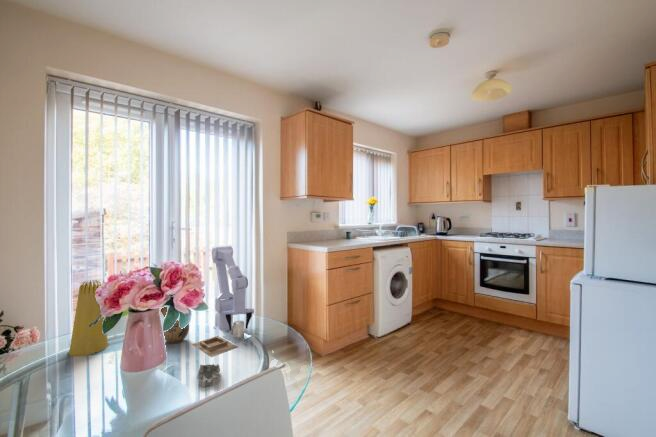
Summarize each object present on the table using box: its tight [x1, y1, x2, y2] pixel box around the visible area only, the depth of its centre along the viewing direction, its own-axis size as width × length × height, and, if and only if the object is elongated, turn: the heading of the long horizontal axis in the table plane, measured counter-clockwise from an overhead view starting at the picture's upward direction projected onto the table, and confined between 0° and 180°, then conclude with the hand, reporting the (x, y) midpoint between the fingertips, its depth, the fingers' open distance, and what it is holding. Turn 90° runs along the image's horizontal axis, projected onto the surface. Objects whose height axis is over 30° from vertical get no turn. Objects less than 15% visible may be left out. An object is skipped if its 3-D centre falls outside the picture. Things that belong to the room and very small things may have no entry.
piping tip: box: [68, 279, 109, 357], centre depth 128 cm, size 14×14×30 cm
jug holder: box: [191, 335, 238, 358], centre depth 133 cm, size 18×13×2 cm
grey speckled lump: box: [196, 363, 221, 388], centre depth 107 cm, size 11×8×4 cm
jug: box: [232, 320, 245, 339], centre depth 142 cm, size 9×5×7 cm, turn 19°
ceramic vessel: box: [160, 307, 190, 344], centre depth 137 cm, size 16×9×25 cm, turn 93°
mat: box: [222, 331, 247, 344], centre depth 144 cm, size 11×11×1 cm
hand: (238, 328), depth 144 cm, fingers open, 7 cm apart
